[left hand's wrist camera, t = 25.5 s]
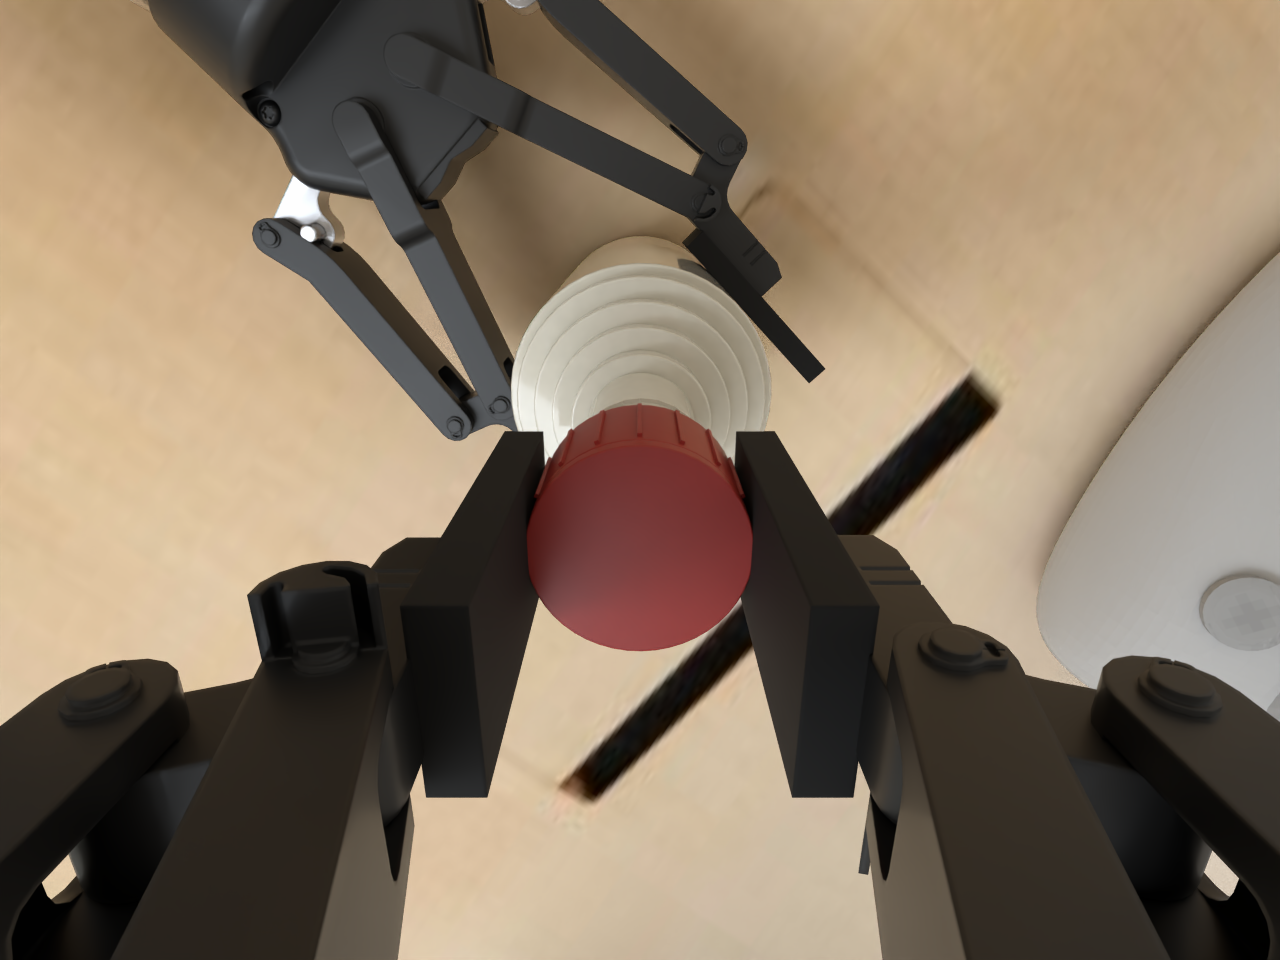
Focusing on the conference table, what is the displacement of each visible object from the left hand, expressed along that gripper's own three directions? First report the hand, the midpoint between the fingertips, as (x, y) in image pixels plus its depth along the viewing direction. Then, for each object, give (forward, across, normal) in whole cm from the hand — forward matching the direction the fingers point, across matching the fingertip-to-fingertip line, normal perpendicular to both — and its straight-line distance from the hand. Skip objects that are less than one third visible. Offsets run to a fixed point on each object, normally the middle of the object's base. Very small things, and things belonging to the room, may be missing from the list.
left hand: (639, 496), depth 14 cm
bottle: (+19, 0, -1) cm, 19 cm away
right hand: (+13, -3, +3) cm, 14 cm away
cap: (-2, 0, 0) cm, 2 cm away
